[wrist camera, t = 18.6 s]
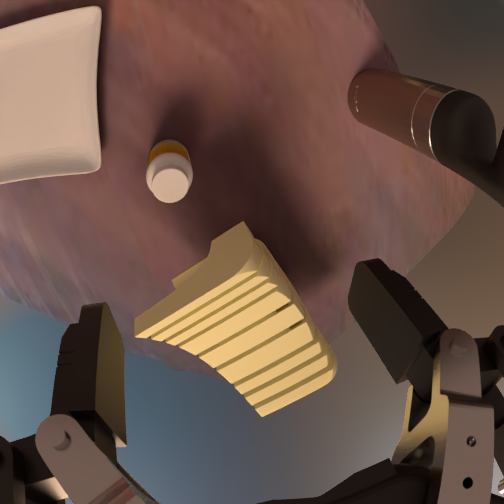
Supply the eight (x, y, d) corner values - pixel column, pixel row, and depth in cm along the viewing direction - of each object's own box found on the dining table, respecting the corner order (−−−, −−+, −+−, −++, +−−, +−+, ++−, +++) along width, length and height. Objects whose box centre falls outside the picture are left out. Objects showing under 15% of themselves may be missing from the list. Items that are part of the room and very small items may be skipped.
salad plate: (-20, 182, 33) (-30, 191, 30) (-32, 43, 21) (-44, 44, 18) (106, 164, 38) (102, 172, 35) (107, 7, 26) (102, 3, 24)
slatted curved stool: (306, 302, 62) (344, 374, 48) (238, 342, 64) (261, 417, 50) (226, 185, 44) (261, 259, 30) (137, 246, 46) (134, 336, 32)
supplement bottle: (142, 147, 38) (136, 172, 30) (181, 133, 38) (186, 154, 31) (156, 182, 41) (155, 216, 34) (193, 169, 42) (202, 199, 34)
